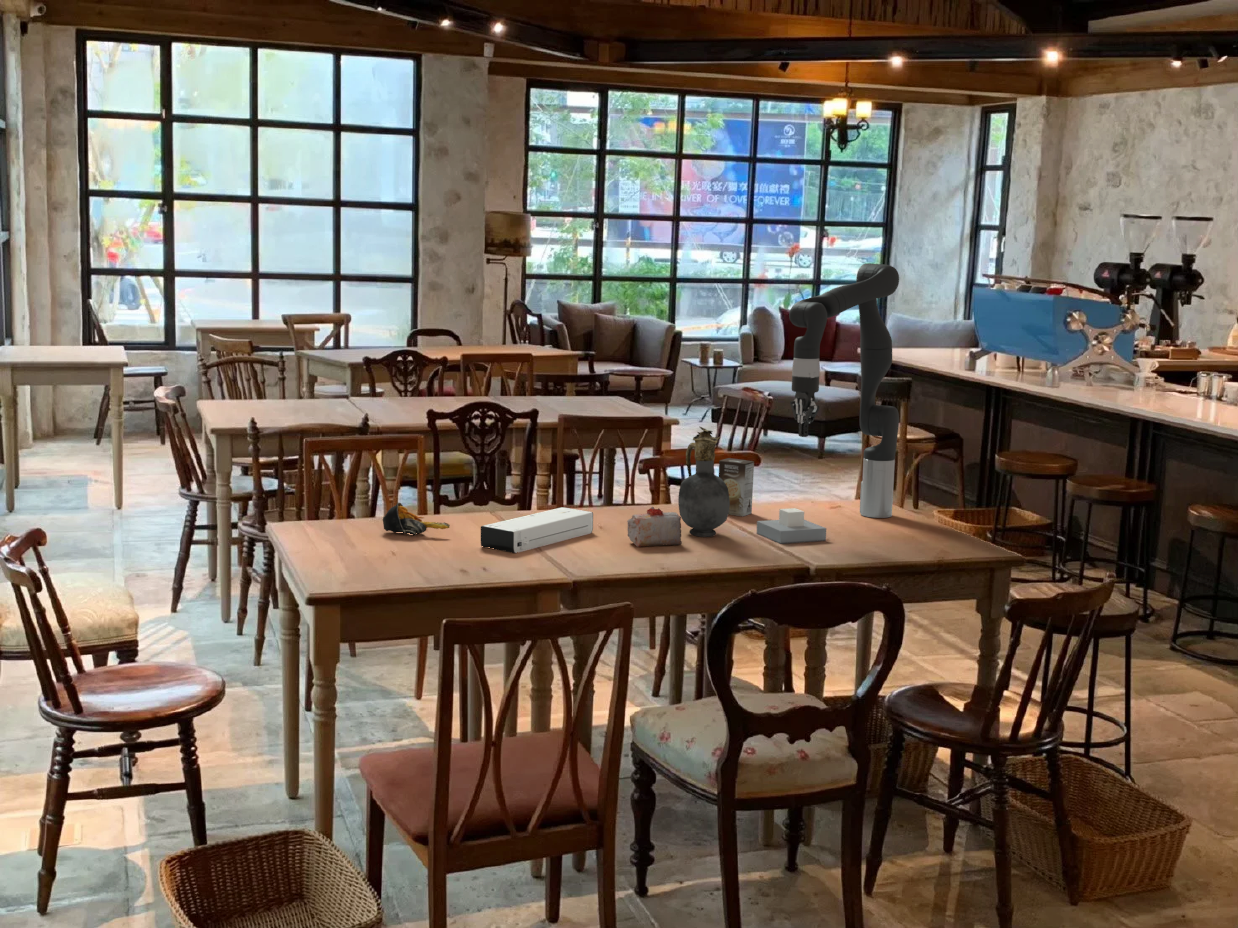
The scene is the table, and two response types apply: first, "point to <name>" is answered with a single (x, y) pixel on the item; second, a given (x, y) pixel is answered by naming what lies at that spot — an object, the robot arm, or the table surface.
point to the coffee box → (738, 484)
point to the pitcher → (703, 489)
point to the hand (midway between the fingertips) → (803, 436)
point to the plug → (791, 517)
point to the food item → (655, 528)
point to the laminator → (537, 529)
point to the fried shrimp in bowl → (407, 521)
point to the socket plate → (791, 532)
